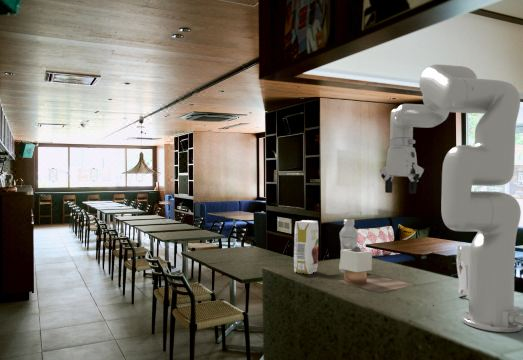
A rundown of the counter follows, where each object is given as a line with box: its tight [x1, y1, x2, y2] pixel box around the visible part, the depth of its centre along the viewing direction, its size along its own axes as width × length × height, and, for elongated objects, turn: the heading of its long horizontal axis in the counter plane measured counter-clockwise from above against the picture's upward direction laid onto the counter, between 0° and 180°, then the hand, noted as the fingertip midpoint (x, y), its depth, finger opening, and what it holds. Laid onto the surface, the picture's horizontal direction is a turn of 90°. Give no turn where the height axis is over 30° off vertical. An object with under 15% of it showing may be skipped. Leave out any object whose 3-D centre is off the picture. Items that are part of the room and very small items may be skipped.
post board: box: [337, 245, 415, 293], centre depth 138 cm, size 17×18×13 cm
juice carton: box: [293, 219, 319, 275], centre depth 160 cm, size 8×9×19 cm
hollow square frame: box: [339, 249, 373, 272], centre depth 139 cm, size 7×7×6 cm
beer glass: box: [455, 245, 471, 301], centre depth 128 cm, size 7×7×15 cm
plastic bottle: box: [338, 219, 359, 274], centre depth 158 cm, size 6×7×20 cm
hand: (400, 193), depth 150 cm, fingers open, 9 cm apart
